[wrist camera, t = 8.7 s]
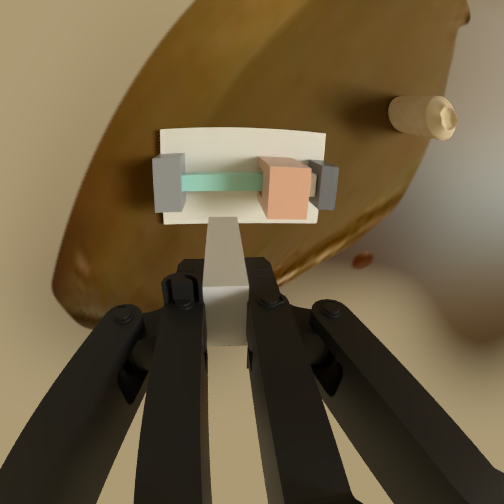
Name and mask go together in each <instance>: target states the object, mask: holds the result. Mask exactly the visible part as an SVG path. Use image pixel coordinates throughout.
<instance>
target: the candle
mask: <svg viewBox="0 0 504 504" xmlns="http://www.w3.org/2000/svg"><path fill="white" fill-rule="evenodd" d="M388 116H389V120H390V122H391V124H392V125H393V127H394V128H395V129H396V130H398V131H400V132H403V133H408V134H413V135H419V136H424V137H429V138H434V139H439V140H446V139H448V138H450V137H451V135H452V134H453V132H454V130H455V127H456V124H457V116H456V114H455V111H454V109H453V107H452V106H451V104H450V103H449V101H448V100H447V99H445V98H444V97H441V96H399V97H396V98H394V99H393V100H392V101H391V103H390V105H389V108H388Z"/></svg>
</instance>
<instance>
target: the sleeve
mask: <svg viewBox="0 0 504 504" xmlns="http://www.w3.org/2000/svg"><path fill="white" fill-rule="evenodd" d="M311 171H312V168H310V167H308V166H306V165H304V164H302V163H300V162H299V161H297V160H295V159H293V158H287V157H265V156H259V158H258V172H263V183H262V191H257V200H258V202H259V204H260V206H261V208H262V210H263V212H264V214H265V216H266V218H267V219H296V220H307V211H308V202H309V192H310V181H311Z"/></svg>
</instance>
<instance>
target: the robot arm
mask: <svg viewBox="0 0 504 504" xmlns="http://www.w3.org/2000/svg"><path fill="white" fill-rule="evenodd" d="M161 285H162V292H163V298H164V307H163V308H161V309H159V310H156V311H153V312H148V313H143V314H142V312H141V310H140V309H139V308H138V307H137V306H134V305H131V304H123V305H118V306H116V307H114V308H112V309H110V310H109V311H108V312H107V313H106V314H105V316H104V317H103V318H102V319H101V321H100V322H99V323H98V324H97V326H96V327H95V328H94V329H93V331H92V332H91V333H90V335H89V336H88V337H87V338H86V340H85V341H84V342H83V344H82V345H81V346H80V348H79V349H78V350H77V352H76V353H75V354H74V356H73V357H72V358H71V360H70V361H69V362H68V364H67V365H66V367H65V368H64V369H63V371H62V372H61V374H60V375H59V376H58V378H57V379H56V380H55V382H54V383H53V385H52V386H51V388H50V389H49V391H48V392H47V393H46V395H45V396H44V398H43V399H42V401H41V402H40V404H39V406H38V407H37V409H36V410H35V412H34V413H33V415H32V416H31V418H30V419H29V421H28V423H27V424H26V426H25V427H24V429H23V431H22V432H21V434H20V436H19V437H18V439H17V441H16V442H15V444H14V446H13V447H12V449H11V451H10V453H9V454H8V456H7V458H6V460H5V462H4V464H3V465H2V467H1V469H0V504H96V503H97V500H98V498H99V495H100V493H101V491H102V488H103V486H104V483H105V481H106V479H107V476H108V474H109V472H110V469H111V467H112V465H113V463H114V460H115V458H116V456H117V454H118V451H119V449H120V447H121V445H122V442H123V440H124V438H125V436H126V434H127V431H128V429H129V427H130V425H131V423H132V421H133V418H134V416H135V414H136V412H137V409H138V408H139V406H140V403H141V401H142V399H143V397H144V395H145V393H146V398H145V405H144V411H143V418H142V426H141V432H140V440H139V449H138V458H137V467H136V478H135V491H134V504H212V496H211V478H210V457H209V431H208V430H209V428H208V354H207V346H239V345H247V343H248V351H247V368H249V373H250V380H251V388H252V395H253V403H254V410H255V417H256V424H257V431H258V439H259V445H260V452H261V459H262V466H263V472H264V478H265V486H266V491H267V498H268V504H363V503H361V502H360V501H358V500H356V499H355V498H354V496H353V495H352V492H351V490H350V486H349V483H348V480H347V477H346V474H345V470H344V467H343V464H342V460H341V457H340V454H339V451H338V448H337V445H336V441H335V438H334V435H333V432H332V429H331V426H330V423H329V420H328V417H327V414H326V410H325V407H324V404H323V401H324V402H325V404H326V405H327V407H328V408H329V410H330V411H331V413H332V414H333V416H334V417H335V419H336V420H337V422H338V423H339V425H340V426H341V428H342V429H343V431H344V432H345V434H346V435H347V437H348V438H349V440H350V441H351V443H352V444H353V446H354V447H355V449H356V450H357V451H358V453H359V454H360V456H361V457H362V459H363V460H364V462H365V463H366V465H367V466H368V467H369V469H370V470H371V472H372V473H373V475H374V476H375V477H376V479H377V480H378V482H379V483H380V485H381V486H382V487H383V489H384V490H385V491H386V493H387V495H388V496H389V497H390V499H391V500H392V502H393V503H394V504H504V473H503V472H501V471H499V470H497V469H495V468H494V467H493V466H492V465H491V464H490V462H489V461H488V460H487V459H486V458H485V456H484V455H483V454H482V453H481V452H480V451H479V450H478V448H477V447H476V446H475V445H474V444H473V442H472V441H471V440H470V439H469V438H468V437H467V436H466V434H465V433H464V432H463V431H462V430H461V429H460V427H459V426H458V425H457V424H456V423H455V422H454V421H453V419H452V418H451V417H450V416H449V415H448V414H447V413H446V412H445V411H444V409H443V408H442V407H441V406H440V405H439V404H438V403H437V402H436V401H435V399H434V398H433V397H432V396H431V395H430V394H429V393H428V392H427V391H426V390H425V389H424V387H423V386H422V385H421V384H420V383H419V382H418V381H417V380H416V379H415V378H414V377H413V375H412V374H411V373H410V372H409V371H408V370H407V369H406V368H405V367H404V366H403V365H402V364H401V363H400V362H399V361H398V359H397V358H396V357H395V356H394V355H393V354H392V353H391V352H390V351H389V350H388V349H387V348H386V347H385V346H384V345H383V344H382V343H381V342H380V341H379V339H377V337H376V336H375V335H373V333H372V332H371V331H370V330H369V329H368V328H367V327H366V326H365V325H364V324H363V323H362V322H361V321H360V320H359V319H358V318H357V317H356V316H355V315H354V314H353V313H352V312H351V311H350V310H349V309H348V308H347V307H346V306H345V305H343V304H342V303H341V302H338V301H335V300H329V299H325V300H319V301H317V302H315V303H314V304H313V306H312V309H306V308H300V307H296V306H293V305H291V304H289V301H288V299H287V298H286V297H285V296H284V295H282V294H281V293H280V291H279V288H278V285H277V282H276V279H275V276H274V273H273V271H272V267H271V264H270V262H269V261H267V260H266V259H265V258H264V257H249V258H244V254H243V248H242V243H241V237H240V231H239V225H238V219H237V217H209V219H208V229H207V239H206V250H205V259H184V260H183V261H182V262H181V263H180V264H179V265H178V268H177V273H174V274H171V275H168V276H167V277H165V278H164V279H163V281H162V282H161ZM146 391H147V392H146ZM322 399H323V401H322Z"/></svg>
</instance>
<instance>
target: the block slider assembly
mask: <svg viewBox="0 0 504 504" xmlns="http://www.w3.org/2000/svg"><path fill="white" fill-rule="evenodd" d="M325 137H326V134H324V133H316V132H306V131H295V130H281V129H264V128H233V127H207V128H176V129H160V155H158V156H156V157H154V158H153V159H152V164H153V186H154V202H155V213H163V218H164V224H199V223H208V219H209V217H237V219H238V223H317V217H318V210H334V206H335V199H336V191H337V182H338V174H339V167H337V166H335V165H333V164H330V163H328V162H326V161H324V150H325ZM259 156H265V157H287V158H293V159H295V160H297V161H299V162H300V163H302V164H304V165H306V166H308V167H310V168H312V171H311V181H310V192H309V202H308V211H307V220H296V219H267V218H266V216H265V214H264V212H263V210H262V208H261V206H260V204H259V202H258V200H257V191H262V183H263V172H258V158H259Z"/></svg>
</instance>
